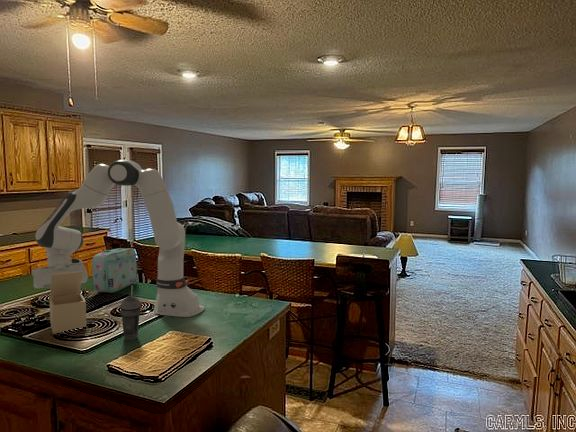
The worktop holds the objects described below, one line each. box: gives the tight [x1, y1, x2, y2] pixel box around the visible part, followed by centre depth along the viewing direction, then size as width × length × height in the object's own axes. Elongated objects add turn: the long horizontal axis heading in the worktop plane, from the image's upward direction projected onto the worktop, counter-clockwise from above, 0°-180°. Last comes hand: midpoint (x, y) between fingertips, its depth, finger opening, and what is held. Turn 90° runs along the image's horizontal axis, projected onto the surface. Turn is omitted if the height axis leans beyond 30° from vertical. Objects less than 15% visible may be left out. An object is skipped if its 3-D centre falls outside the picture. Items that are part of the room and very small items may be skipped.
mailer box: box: [49, 292, 87, 336], centre depth 155 cm, size 12×11×11 cm
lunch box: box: [91, 247, 138, 294], centre depth 208 cm, size 27×10×21 cm, turn 168°
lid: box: [49, 271, 83, 298], centre depth 158 cm, size 22×10×1 cm
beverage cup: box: [119, 284, 142, 341], centre depth 146 cm, size 7×7×20 cm
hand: (63, 293), depth 167 cm, fingers closed
